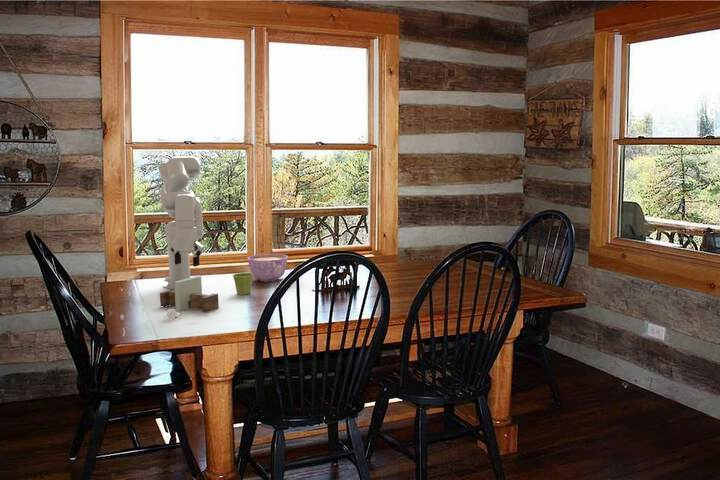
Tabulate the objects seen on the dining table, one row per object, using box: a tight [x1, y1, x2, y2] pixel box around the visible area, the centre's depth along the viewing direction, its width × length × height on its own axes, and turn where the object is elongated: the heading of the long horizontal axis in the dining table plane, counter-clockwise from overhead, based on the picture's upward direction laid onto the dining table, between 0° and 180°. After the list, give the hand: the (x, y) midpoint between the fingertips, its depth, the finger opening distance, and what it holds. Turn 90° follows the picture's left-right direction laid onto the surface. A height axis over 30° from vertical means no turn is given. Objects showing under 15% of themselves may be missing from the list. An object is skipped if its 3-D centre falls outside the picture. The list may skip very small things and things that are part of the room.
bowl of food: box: [247, 253, 289, 283], centre depth 343 cm, size 20×20×12 cm
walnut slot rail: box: [159, 289, 220, 313], centre depth 288 cm, size 24×8×6 cm, turn 63°
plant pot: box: [232, 272, 254, 296], centre depth 313 cm, size 9×9×9 cm
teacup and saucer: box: [166, 308, 181, 320], centre depth 270 cm, size 9×8×4 cm
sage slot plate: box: [174, 275, 203, 312], centre depth 288 cm, size 2×14×12 cm, turn 153°
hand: (187, 264), depth 287 cm, fingers open, 9 cm apart
